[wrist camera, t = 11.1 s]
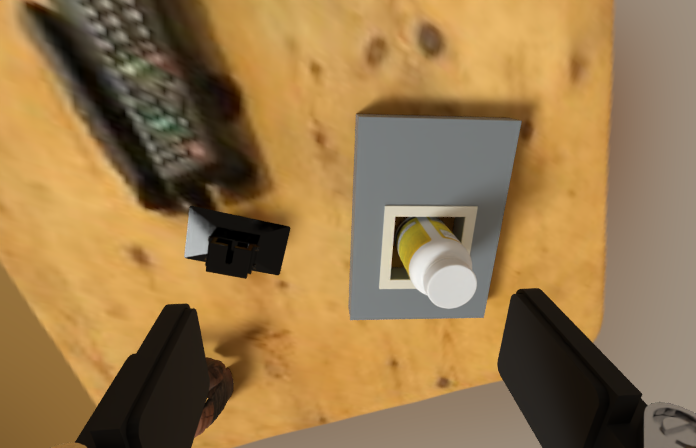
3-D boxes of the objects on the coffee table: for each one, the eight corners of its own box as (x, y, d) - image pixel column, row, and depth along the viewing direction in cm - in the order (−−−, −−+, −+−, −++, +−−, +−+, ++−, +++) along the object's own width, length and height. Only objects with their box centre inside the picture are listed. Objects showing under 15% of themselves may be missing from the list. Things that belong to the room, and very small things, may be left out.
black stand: (307, 221, 38) (306, 240, 33) (292, 284, 40) (289, 309, 36) (176, 193, 36) (158, 209, 31) (169, 261, 38) (151, 284, 34)
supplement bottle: (395, 263, 40) (418, 320, 30) (392, 215, 37) (416, 260, 28) (446, 257, 40) (485, 311, 31) (446, 208, 38) (487, 251, 29)
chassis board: (356, 113, 34) (359, 116, 31) (508, 117, 35) (522, 121, 32) (348, 306, 41) (350, 321, 39) (474, 304, 42) (484, 318, 40)
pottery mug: (216, 418, 46) (156, 473, 39) (169, 357, 47) (103, 399, 40) (267, 374, 40) (208, 429, 33) (212, 306, 42) (145, 344, 34)
